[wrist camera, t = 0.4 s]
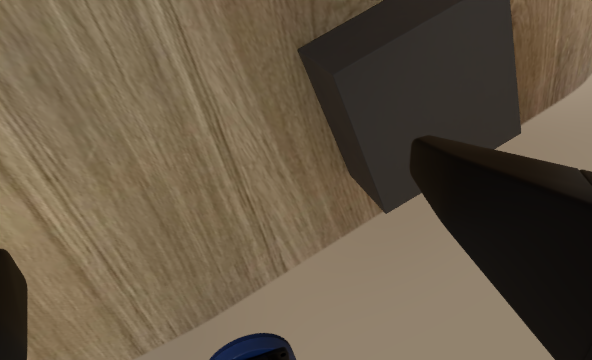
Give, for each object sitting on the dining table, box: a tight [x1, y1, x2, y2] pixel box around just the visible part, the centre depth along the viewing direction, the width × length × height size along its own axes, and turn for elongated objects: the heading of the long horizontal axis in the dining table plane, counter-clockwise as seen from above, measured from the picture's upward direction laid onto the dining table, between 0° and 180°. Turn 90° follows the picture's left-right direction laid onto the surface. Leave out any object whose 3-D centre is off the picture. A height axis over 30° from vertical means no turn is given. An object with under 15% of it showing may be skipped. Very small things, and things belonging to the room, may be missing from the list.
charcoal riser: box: [298, 0, 521, 214], centre depth 25 cm, size 10×10×5 cm
